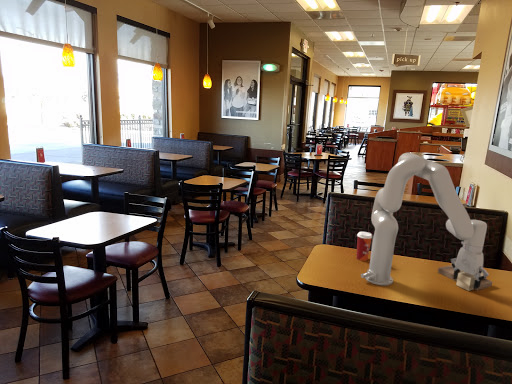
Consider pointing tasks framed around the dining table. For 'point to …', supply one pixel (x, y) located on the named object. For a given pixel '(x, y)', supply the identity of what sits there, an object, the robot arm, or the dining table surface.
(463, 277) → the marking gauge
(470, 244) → the robot arm
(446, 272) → the walnut board
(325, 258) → the dining table surface
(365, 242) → the paper cup
